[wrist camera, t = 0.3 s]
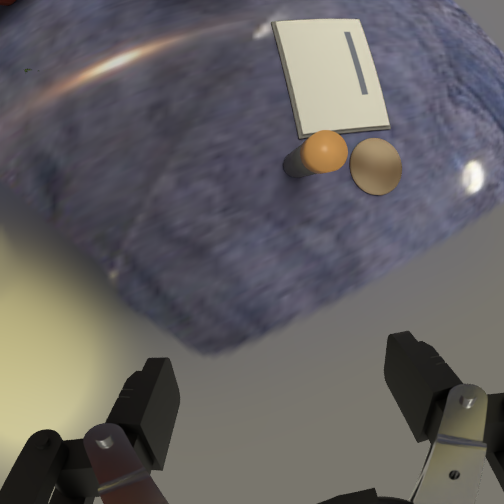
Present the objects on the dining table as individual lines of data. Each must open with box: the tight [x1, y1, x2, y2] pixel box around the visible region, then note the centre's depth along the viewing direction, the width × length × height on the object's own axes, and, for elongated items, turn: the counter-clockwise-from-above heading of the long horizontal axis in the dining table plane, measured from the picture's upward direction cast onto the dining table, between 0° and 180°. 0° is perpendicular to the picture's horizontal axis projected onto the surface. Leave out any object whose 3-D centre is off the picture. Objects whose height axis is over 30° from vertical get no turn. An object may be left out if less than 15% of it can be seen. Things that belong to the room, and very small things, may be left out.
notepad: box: [271, 19, 391, 139], centre depth 34 cm, size 16×12×1 cm
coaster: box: [350, 138, 402, 195], centre depth 36 cm, size 7×7×1 cm
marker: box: [283, 130, 348, 178], centre depth 30 cm, size 3×3×14 cm
